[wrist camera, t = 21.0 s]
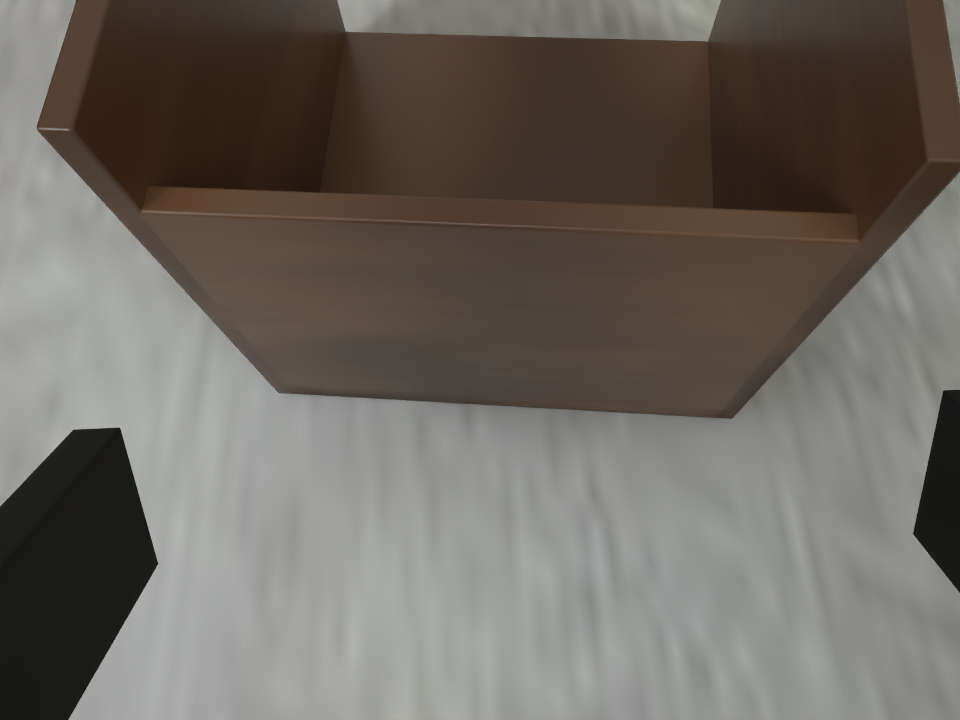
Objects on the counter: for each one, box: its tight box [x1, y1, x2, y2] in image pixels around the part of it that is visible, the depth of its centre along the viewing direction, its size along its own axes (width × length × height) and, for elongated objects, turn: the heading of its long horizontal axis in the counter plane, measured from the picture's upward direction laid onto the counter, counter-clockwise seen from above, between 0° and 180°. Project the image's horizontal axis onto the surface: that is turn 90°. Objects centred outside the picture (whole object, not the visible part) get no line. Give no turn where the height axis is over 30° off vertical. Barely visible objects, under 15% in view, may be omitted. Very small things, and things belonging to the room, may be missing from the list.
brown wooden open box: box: [37, 0, 960, 418], centre depth 17 cm, size 12×11×11 cm
